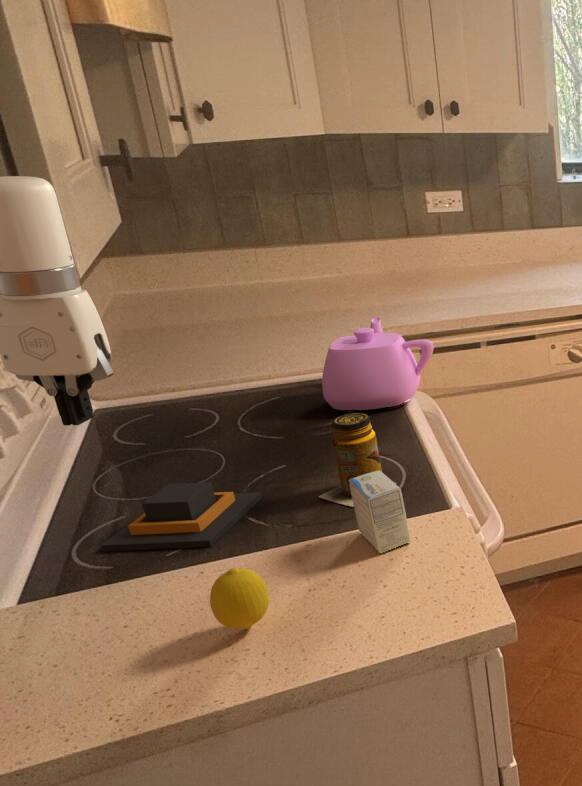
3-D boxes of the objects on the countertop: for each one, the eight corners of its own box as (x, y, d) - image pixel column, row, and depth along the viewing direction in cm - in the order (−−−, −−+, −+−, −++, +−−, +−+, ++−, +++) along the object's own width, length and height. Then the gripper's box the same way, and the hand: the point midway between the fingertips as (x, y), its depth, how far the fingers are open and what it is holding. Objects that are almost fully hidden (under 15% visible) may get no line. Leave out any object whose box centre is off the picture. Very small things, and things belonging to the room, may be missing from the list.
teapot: (436, 410, 154) (425, 336, 149) (319, 420, 149) (303, 344, 144) (448, 373, 175) (438, 308, 169) (345, 381, 170) (332, 314, 164)
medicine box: (412, 543, 108) (402, 487, 105) (378, 555, 105) (367, 498, 102) (390, 522, 113) (380, 468, 110) (358, 533, 110) (347, 478, 107)
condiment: (397, 484, 124) (385, 414, 120) (353, 507, 117) (338, 434, 113) (363, 475, 127) (350, 407, 123) (318, 498, 120) (302, 426, 116)
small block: (149, 528, 109) (141, 503, 108) (175, 508, 115) (167, 483, 114) (194, 526, 110) (187, 501, 108) (217, 506, 115) (211, 482, 114)
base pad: (102, 551, 106) (96, 535, 105) (165, 502, 119) (160, 487, 118) (211, 546, 107) (206, 530, 106) (261, 498, 120) (258, 483, 119)
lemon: (264, 607, 94) (249, 550, 91) (283, 626, 91) (268, 567, 88) (212, 630, 90) (194, 571, 87) (230, 650, 87) (212, 589, 84)
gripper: (-56, 288, 91) (-8, 433, 97) (83, 288, 92) (121, 432, 98) (-4, 275, 98) (38, 411, 104) (124, 276, 99) (158, 410, 105)
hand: (78, 421), depth 101 cm, fingers closed
